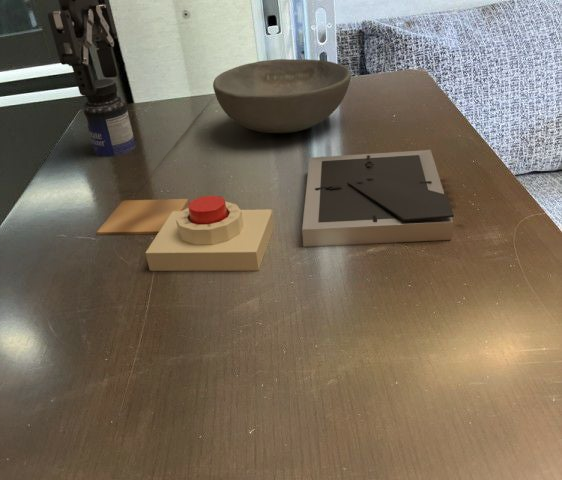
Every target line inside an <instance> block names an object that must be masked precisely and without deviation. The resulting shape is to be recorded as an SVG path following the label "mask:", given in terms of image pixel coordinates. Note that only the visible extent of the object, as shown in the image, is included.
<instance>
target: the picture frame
mask: <svg viewBox="0 0 562 480" xmlns="http://www.w3.org/2000/svg"><path fill="white" fill-rule="evenodd" d="M454 217H455V215H454V211H453V208H452V205H451V202H450V199H449V196H448V194H446V193H445V191H444V188H443V184H442V182H441V178H440V175H439V171H438V168H437V166H436V162H435V159H434V156H433V153H432V150H431V149H423V150H408V151H407V150H406V151H394V152H393V151H389V152H376V153H375V152H374V153H362V154H347V155H345V154H343V155H329V156H315V157H309V158H308V168H307V177H306V189H305V197H304V208H303V217H302V228H301V233H302V235H301V236H302V245H303V248H312V247H333V246H352V245H370V244H371V245H373V244H375V245H376V244H392V243H393V244H394V243H414V242H435V241H437V242H438V241H451V240H452V239H453V230H454V229H453V228H454V221H453V218H454Z"/></svg>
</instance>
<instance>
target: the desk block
mask: <svg viewBox="0 0 562 480" xmlns="http://www.w3.org/2000/svg"><path fill="white" fill-rule="evenodd" d="M225 202H226V209H227V215H228V216H227V218H225V219H224V220H222V221H220V222H216V223H212V224H206V225H197V224H194V223H192V222H191V219H190V214H189V209H188V207H187V208H184V210H183V211H173V212H172V213H171V214H170V216H169V217H168V219H167V221H166V222H165V224H164V225H163V227H162V228H161V230H160V231H159V233H158V234H156V236H155V238H154V239H153V240H152V242H151V243H150V245H149V246H148V248H147V249H146V251H145V253H144V254H145V258H146V261H147V265H148V270H149V271H150V272H158V271H159V272H174V271H176V272H177V271H178V272H179V271H181V272H183V271H184V272H186V271H187V272H195V271H196V272H197V271H198V272H201V271H202V272H203V271H204V272H205V271H206V272H207V271H209V272H210V271H213V272H214V271H216V272H218V271H219V272H221V271H227V272H230V271H233V272H235V271H237V272H238V271H247V272H248V271H251V272H252V271H254V272H255V271H259V270H260V268H261V265H262V262H263V259H264V257H265V254H266V251H267V249H268V246H269V244H270V240H271V237H272V234H273V232H274V229H275V217H274V210H273V209H271V208H269V209H241V208H240V207H239V206H238V205H237V204H236V203H233V202H229V201H225Z"/></svg>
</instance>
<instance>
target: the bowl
mask: <svg viewBox="0 0 562 480" xmlns="http://www.w3.org/2000/svg"><path fill="white" fill-rule="evenodd" d="M351 79H352V72H351V70H350V69H349V68H348V67H347V66H345V65H343V64H339V63H336V62H333V61H329V60H322V59H321V60H320V59H308V58H307V59H306V58H305V59H293V58H291V59H288V58H287V59H286V58H279V59H278V58H277V59H269V60H267V59H266V60H260V61H255V62H250V63H245V64H241V65H239V66H236V67H233V68H231V69H228V70H225V71H223V72H221V73H220V74H218V75H217V76H216V77H215V78H214V79H213V81H212V87H213V93H214V94H215V97H216V100H217V103H218V104H219V106H220V107H221V109H222V110H223V112H224V113H225V114H226V115H227V116H228V117H229V118H230V119H231V120H232V121H233V122H235V123H236V124H237V125H239V126H241V127H243V128H246V129H248V130H251V131H255V132H259V133H264V134H290V133H297V132H301V131H305V130H308V129H310V128H312V127H314V126H316V125H318V124H320V123H321V122H323V121H324V120H326V119H327V118H329V117H330V116H331V115H332V114H333V113H334V112H335V111H336V110H337V109H338V107H339V106H340V104H342V102H343V100H344V98H345V96H346V94H347V92H348V89H349V86H350V83H351Z"/></svg>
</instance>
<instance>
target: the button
mask: <svg viewBox="0 0 562 480" xmlns="http://www.w3.org/2000/svg"><path fill="white" fill-rule="evenodd" d="M226 202H227V201H226V200H225V198H223V197H221V196H219V195H205V196H199V197H197V198H195V199H193V200H191V201H190V202H188V204H187V208H188V209H189V214H190V219H191V222H192V223H194V224H197V225H206V224H212V223H216V222H220V221H222V220H224V219H225V218H227V216H228V215H227V209H226Z"/></svg>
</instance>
